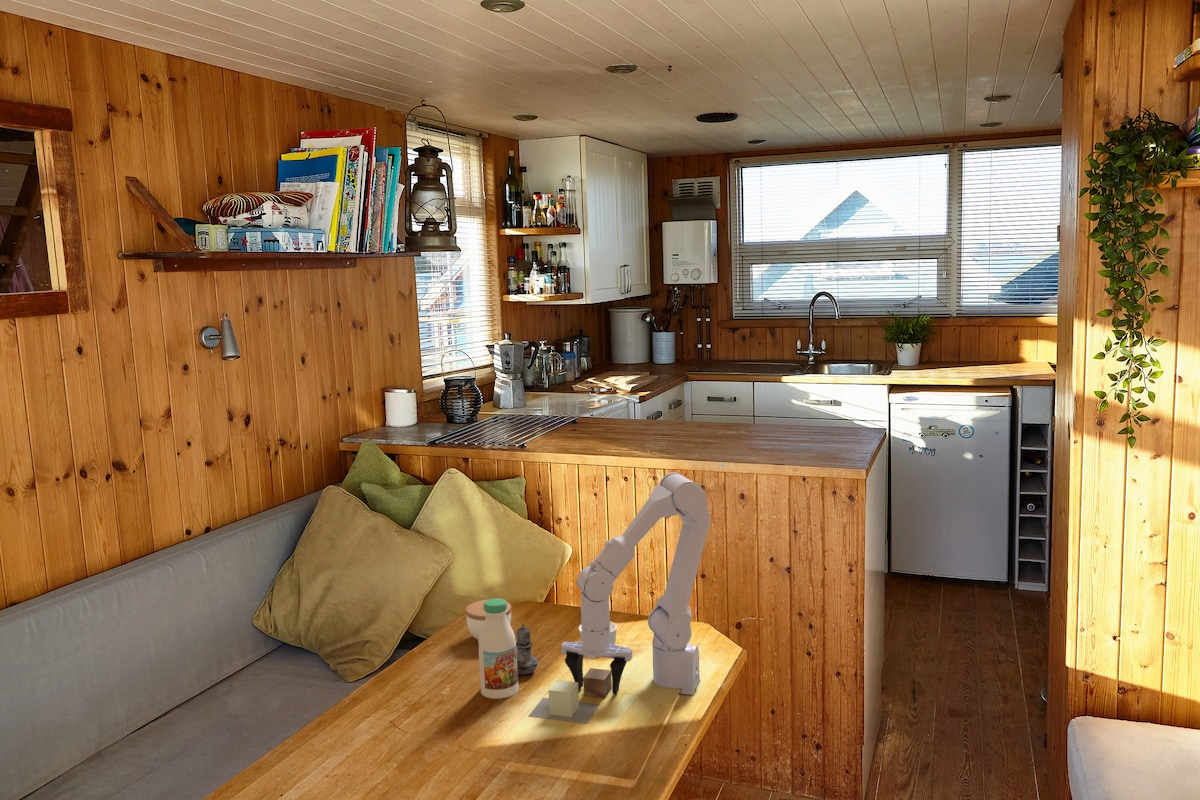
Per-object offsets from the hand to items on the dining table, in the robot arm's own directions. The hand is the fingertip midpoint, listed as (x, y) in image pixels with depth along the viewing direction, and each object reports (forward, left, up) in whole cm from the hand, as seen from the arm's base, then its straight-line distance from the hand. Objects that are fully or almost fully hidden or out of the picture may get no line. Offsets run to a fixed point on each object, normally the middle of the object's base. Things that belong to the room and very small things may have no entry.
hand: (597, 689), depth 191 cm
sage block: (+4, +9, 0) cm, 10 cm away
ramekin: (+8, -25, -2) cm, 26 cm away
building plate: (+4, +9, -2) cm, 10 cm away
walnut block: (0, 0, -2) cm, 2 cm away
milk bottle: (+20, +4, -2) cm, 20 cm away
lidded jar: (+34, -22, -2) cm, 41 cm away
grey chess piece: (+18, -5, -2) cm, 19 cm away
